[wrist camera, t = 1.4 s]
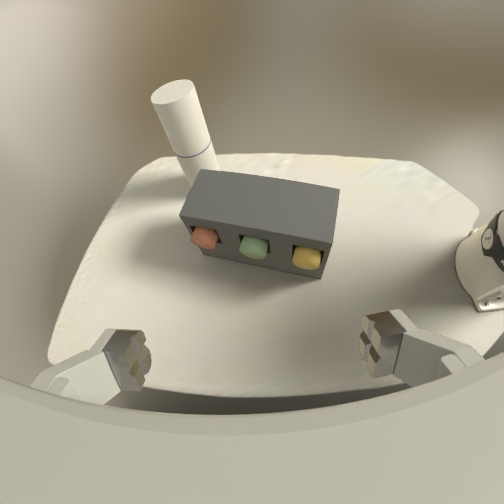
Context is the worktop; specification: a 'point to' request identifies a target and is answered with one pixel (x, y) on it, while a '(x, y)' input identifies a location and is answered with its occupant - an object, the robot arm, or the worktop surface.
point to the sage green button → (254, 247)
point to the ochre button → (306, 257)
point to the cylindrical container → (185, 127)
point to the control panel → (263, 217)
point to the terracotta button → (205, 237)
